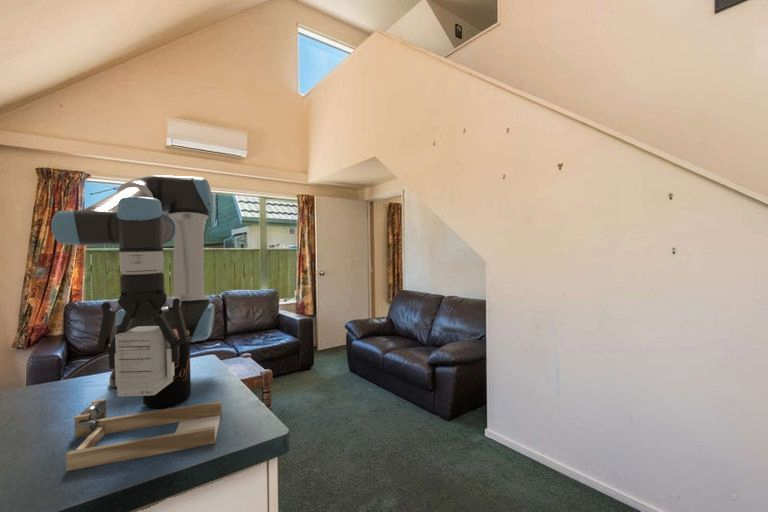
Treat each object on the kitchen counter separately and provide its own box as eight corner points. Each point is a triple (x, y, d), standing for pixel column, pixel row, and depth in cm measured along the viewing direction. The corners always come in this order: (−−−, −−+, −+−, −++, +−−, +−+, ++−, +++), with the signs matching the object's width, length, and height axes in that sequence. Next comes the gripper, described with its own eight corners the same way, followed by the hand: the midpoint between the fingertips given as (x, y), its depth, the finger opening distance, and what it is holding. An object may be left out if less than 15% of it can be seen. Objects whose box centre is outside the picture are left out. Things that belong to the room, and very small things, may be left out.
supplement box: (139, 382, 76) (137, 325, 76) (174, 381, 77) (172, 325, 76) (115, 397, 69) (113, 334, 69) (154, 396, 70) (152, 333, 69)
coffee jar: (168, 412, 85) (166, 339, 85) (132, 409, 87) (130, 337, 87) (200, 394, 95) (198, 329, 95) (167, 392, 98) (165, 328, 97)
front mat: (180, 422, 80) (180, 421, 80) (220, 415, 83) (220, 415, 83) (168, 448, 69) (168, 447, 69) (215, 439, 72) (215, 439, 72)
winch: (92, 419, 82) (91, 399, 82) (117, 415, 84) (116, 396, 84) (65, 445, 71) (65, 423, 71) (95, 440, 73) (94, 418, 72)
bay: (100, 432, 76) (100, 418, 76) (221, 413, 84) (221, 400, 84) (66, 471, 62) (66, 454, 62) (214, 443, 70) (214, 429, 70)
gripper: (69, 276, 65) (74, 395, 66) (196, 271, 72) (199, 379, 73) (88, 273, 72) (92, 381, 73) (202, 269, 79) (205, 367, 80)
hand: (146, 380), depth 73 cm, fingers closed on supplement box, 8 cm apart
